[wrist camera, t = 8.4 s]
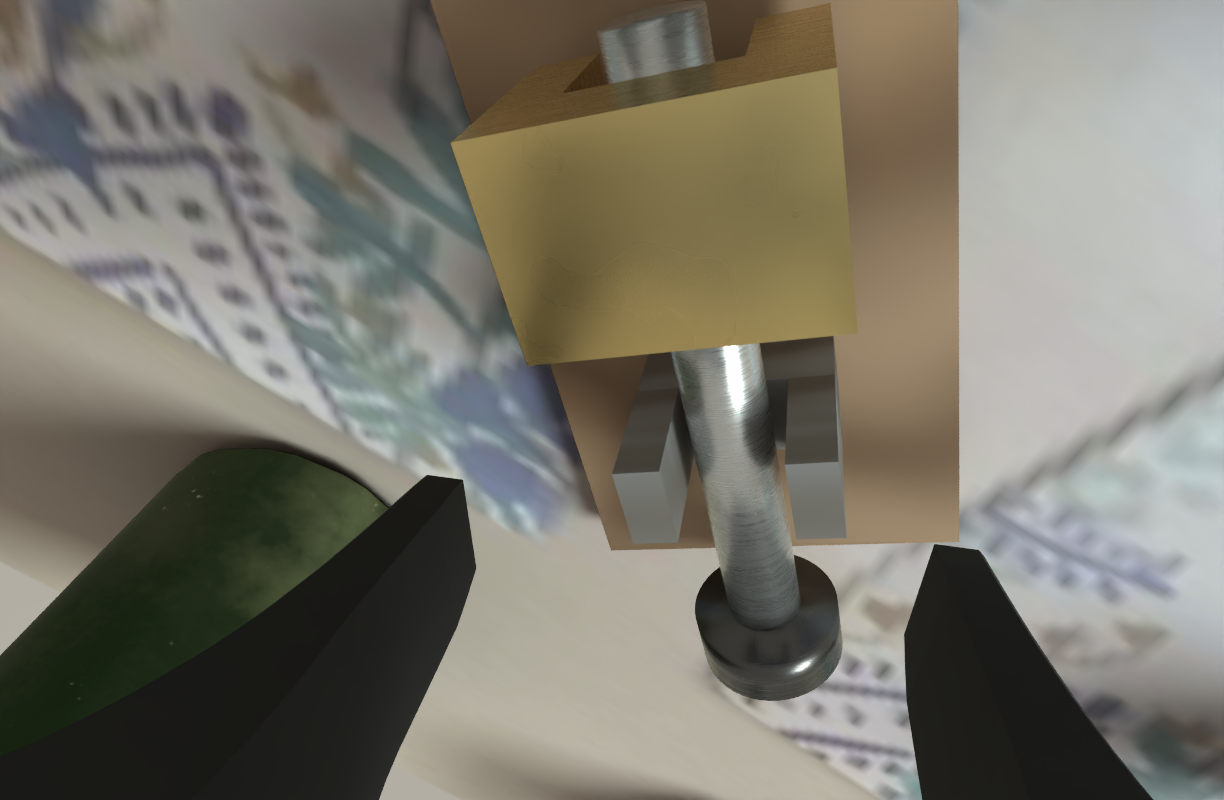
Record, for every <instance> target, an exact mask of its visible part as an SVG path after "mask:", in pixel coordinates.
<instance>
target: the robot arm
mask: <svg viewBox="0 0 1224 800" xmlns="http://www.w3.org/2000/svg"><path fill="white" fill-rule="evenodd" d="M475 570H476V563H475V557H474V550H473V544H472V537H471V530H470V524H469V517H468V510H467V504H466V497H465V490H464V484H463V480H460V479H453V478H445V477H438V476H431V475H427V476H425V477H424V478H423V479H422V480H420V481H419V482H418V483H417V484H416V485H415V486H413V487H412V488H411V489H410V490H409V491H408V492H407V493H405V494H404V495H403V496H402V497H401V498H400V499H399V500H397V501H396V502H395V503H394V504H393V505H392V506H391V507H390V508H389V509H387V510H386V511H385V512H384V513H383V514H382V515H381V516H379V517H378V518H377V519H376V520H375V521H374V522H373V523H372V524H370V525H369V526H368V527H367V528H366V529H365V530H364V531H362V532H361V533H360V534H359V535H358V536H357V537H355V538H354V539H353V540H352V541H351V542H349V543H348V544H347V545H346V546H345V547H344V548H342V549H341V550H340V551H339V552H338V553H336V554H335V555H334V556H333V557H332V558H330V559H329V560H328V561H327V562H326V563H325V564H323V565H322V566H321V567H320V568H318V569H317V570H316V571H315V572H313V573H312V574H311V575H309V576H308V577H307V578H306V579H304V580H303V581H302V582H300V583H299V584H298V585H297V586H295V587H294V588H293V589H291V590H290V591H289V592H287V593H286V594H285V595H284V596H282V597H281V598H280V599H278V600H277V601H276V602H275V603H273V604H272V605H270V606H269V607H268V608H266V609H265V610H264V611H262V612H261V613H259V614H258V615H257V616H255V617H254V618H252V619H251V620H250V621H248V622H247V623H245V624H244V625H242V626H241V627H239V628H238V629H236V630H235V631H233V632H232V633H230V634H229V635H227V636H226V637H224V638H223V639H221V640H220V641H218V642H217V643H215V644H214V645H212V646H211V647H209V648H207V649H206V650H204V651H203V652H201V653H200V654H198V655H196V656H195V657H193V658H191V659H189V660H188V661H186V662H184V663H182V664H181V665H179V666H177V667H176V668H174V669H172V670H170V671H169V672H167V673H165V674H164V675H162V676H160V677H158V678H157V679H155V680H153V681H152V682H150V683H148V684H146V685H145V686H143V687H141V688H139V689H138V690H136V691H134V692H132V693H131V694H129V695H127V696H125V697H123V698H121V699H119V700H117V701H115V702H114V703H112V704H110V705H108V706H106V707H104V708H102V709H100V710H98V711H96V712H94V713H92V714H90V715H88V716H86V717H84V718H82V719H80V720H78V721H76V722H74V723H72V724H70V725H68V726H66V727H64V728H62V729H60V730H58V731H56V732H54V733H52V734H50V735H47V736H45V737H43V738H41V739H39V740H37V741H35V742H32V743H30V744H28V745H26V746H23V747H21V748H19V749H17V750H14V751H12V752H10V753H7V754H5V755H3V756H1V757H0V800H379V798H380V795H381V792H382V790H383V787H384V784H385V781H386V779H387V776H388V774H389V772H390V769H391V767H392V765H393V762H394V760H395V758H396V755H397V753H398V751H399V748H400V746H401V744H402V742H403V740H404V738H405V736H406V734H407V732H408V729H409V727H410V725H411V723H412V721H413V719H414V717H415V715H416V713H417V711H418V708H419V706H420V704H421V702H422V700H423V698H424V696H425V694H426V692H427V690H428V688H429V685H430V683H431V681H432V679H433V677H434V675H435V673H436V671H437V669H438V666H439V664H440V662H441V660H442V658H443V656H444V654H445V651H446V649H447V647H448V645H449V643H450V641H451V639H452V636H453V634H454V632H455V630H456V628H457V625H458V622H459V620H460V617H461V614H462V611H463V608H464V605H465V602H466V599H467V596H468V593H469V590H470V586H471V583H472V580H473V577H474V574H475ZM904 642H905V674H906V695H907V706H908V712H909V719H910V725H911V732H912V738H913V745H914V751H915V757H916V763H917V770H918V776H919V782H920V788H921V794H922V800H1153V799H1152V797H1151V796H1150V795H1149V794H1148V793H1147V791H1146V790H1145V789H1144V788H1143V787H1142V785H1141V784H1140V783H1139V782H1138V780H1137V779H1136V778H1135V777H1134V776H1133V774H1132V773H1131V772H1130V771H1129V769H1128V768H1127V767H1126V766H1125V764H1124V763H1123V762H1122V760H1121V759H1120V758H1119V757H1118V755H1117V754H1116V753H1115V752H1114V750H1113V749H1112V748H1111V746H1110V745H1109V744H1108V742H1107V741H1106V740H1105V738H1104V737H1103V736H1102V734H1101V733H1100V732H1099V730H1098V729H1097V728H1096V726H1095V725H1094V724H1093V723H1092V721H1091V720H1090V719H1089V717H1088V716H1087V714H1086V713H1085V712H1084V710H1083V709H1082V707H1081V706H1080V705H1079V703H1078V702H1077V700H1076V699H1075V698H1074V696H1073V695H1072V694H1071V692H1070V691H1069V689H1068V688H1067V686H1066V685H1065V683H1064V682H1063V680H1062V679H1061V677H1060V676H1059V674H1058V673H1057V672H1056V670H1055V669H1054V667H1053V666H1052V664H1051V663H1050V661H1049V660H1048V658H1047V657H1046V655H1045V654H1044V653H1043V651H1042V649H1041V648H1040V646H1039V645H1038V643H1037V642H1036V640H1035V639H1034V637H1033V636H1032V634H1031V633H1030V631H1029V629H1028V628H1027V626H1026V625H1025V623H1024V621H1023V620H1022V618H1021V617H1020V615H1019V614H1018V612H1017V610H1016V609H1015V607H1014V605H1013V604H1012V602H1011V601H1010V599H1009V597H1008V596H1007V594H1006V592H1005V591H1004V589H1003V587H1002V586H1001V584H1000V582H999V581H998V579H997V577H996V576H995V574H994V572H993V571H992V569H991V567H990V566H989V564H988V562H987V560H986V559H985V557H984V556H983V555H982V553H981V552H980V551H979V550H974V549H967V548H959V547H952V546H945V545H937V544H934V547H933V550H932V553H931V556H930V559H929V562H928V565H927V568H926V571H925V574H924V577H923V580H922V583H921V586H920V589H919V592H918V595H917V598H916V601H915V604H914V607H913V610H912V613H911V616H910V619H909V622H908V625H907V628H906V631H905V634H904Z"/></svg>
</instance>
